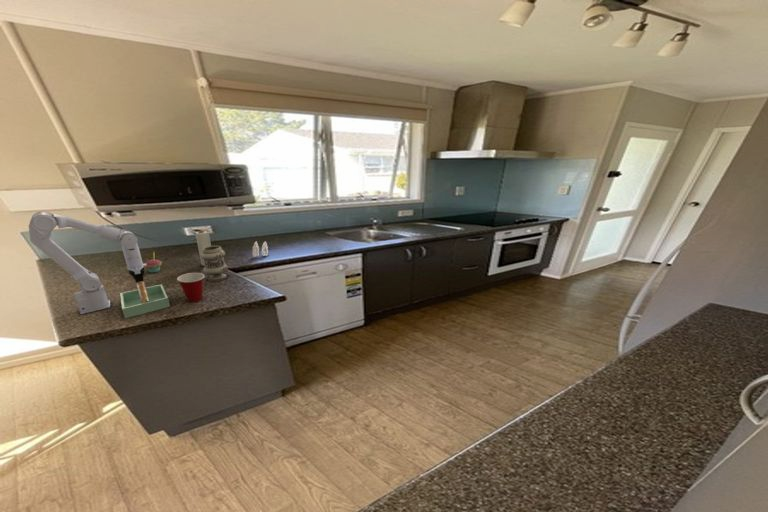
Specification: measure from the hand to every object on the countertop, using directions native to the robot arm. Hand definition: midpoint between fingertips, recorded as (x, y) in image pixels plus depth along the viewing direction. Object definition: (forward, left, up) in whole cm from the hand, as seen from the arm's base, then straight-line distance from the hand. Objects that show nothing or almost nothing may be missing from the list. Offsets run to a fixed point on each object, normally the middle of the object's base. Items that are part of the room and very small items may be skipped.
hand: (140, 283), depth 137 cm
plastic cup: (+18, -20, -7) cm, 28 cm away
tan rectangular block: (0, -8, -2) cm, 8 cm away
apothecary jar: (+33, +2, -7) cm, 34 cm away
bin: (0, -11, -6) cm, 13 cm away
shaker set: (+35, -9, -6) cm, 36 cm away
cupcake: (+8, +36, -6) cm, 37 cm away
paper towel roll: (+34, +29, -7) cm, 45 cm away
